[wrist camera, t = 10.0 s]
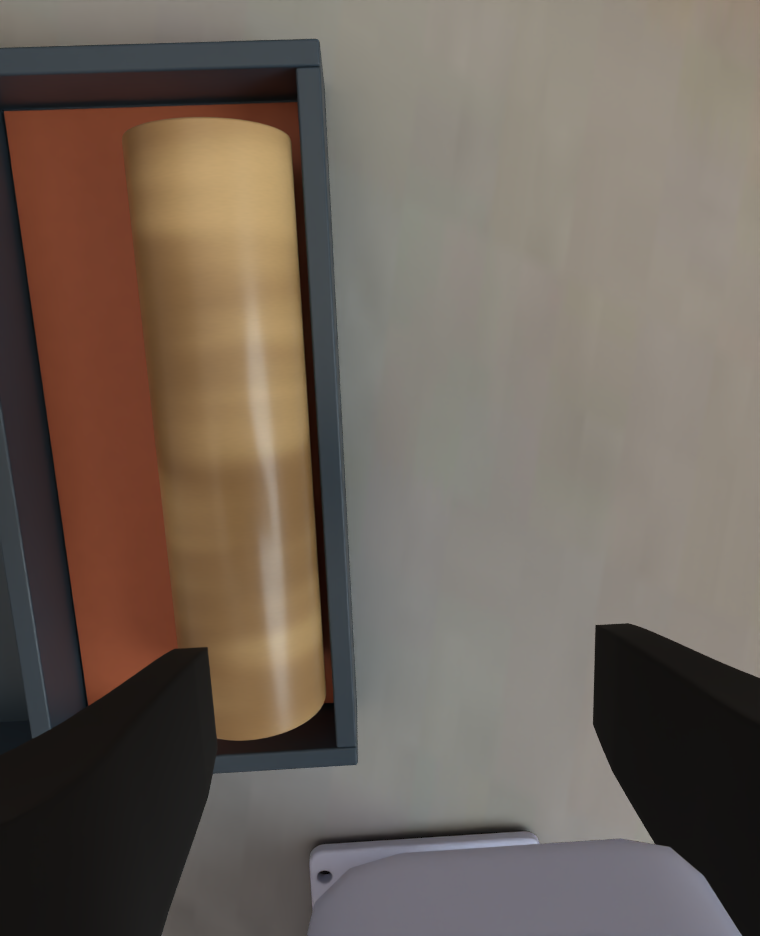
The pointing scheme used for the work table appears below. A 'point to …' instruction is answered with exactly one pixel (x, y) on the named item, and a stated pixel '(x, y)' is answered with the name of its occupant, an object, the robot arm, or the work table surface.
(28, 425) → the tray
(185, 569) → the rolling pin
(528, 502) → the work table surface
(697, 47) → the work table surface
